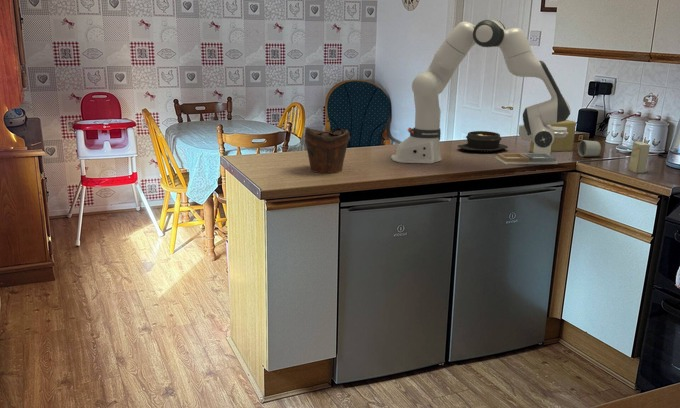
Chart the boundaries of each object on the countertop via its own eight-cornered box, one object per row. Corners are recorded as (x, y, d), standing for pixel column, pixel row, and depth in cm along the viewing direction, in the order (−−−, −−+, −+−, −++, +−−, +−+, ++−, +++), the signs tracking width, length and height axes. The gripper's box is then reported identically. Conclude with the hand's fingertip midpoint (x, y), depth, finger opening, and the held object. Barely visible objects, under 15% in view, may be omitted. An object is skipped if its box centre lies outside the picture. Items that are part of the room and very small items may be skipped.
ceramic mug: (601, 157, 286) (603, 141, 284) (585, 158, 285) (587, 141, 283) (589, 153, 296) (591, 137, 294) (573, 153, 295) (575, 138, 293)
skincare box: (628, 169, 263) (632, 141, 259) (638, 169, 263) (642, 141, 259) (635, 173, 256) (640, 144, 253) (646, 173, 257) (650, 144, 253)
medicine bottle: (550, 157, 285) (553, 132, 281) (534, 157, 286) (537, 131, 283) (548, 154, 291) (551, 129, 288) (533, 154, 293) (535, 129, 289)
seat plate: (505, 164, 270) (505, 158, 269) (495, 158, 282) (495, 153, 281) (557, 163, 272) (558, 158, 271) (545, 157, 284) (546, 152, 284)
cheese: (537, 154, 292) (540, 123, 288) (523, 150, 301) (526, 120, 297) (573, 151, 300) (577, 120, 296) (559, 147, 309) (563, 118, 305)
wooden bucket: (359, 169, 256) (359, 126, 251) (324, 177, 242) (324, 132, 238) (330, 163, 268) (330, 122, 263) (295, 170, 255) (294, 127, 250)
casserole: (469, 155, 287) (471, 137, 285) (450, 148, 304) (451, 131, 302) (515, 152, 295) (517, 135, 293) (494, 145, 312) (495, 129, 310)
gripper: (569, 127, 258) (567, 122, 270) (519, 124, 263) (519, 120, 276) (567, 141, 259) (566, 136, 272) (517, 139, 265) (518, 134, 278)
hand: (542, 128), depth 274 cm, fingers closed on sleeve, 5 cm apart
